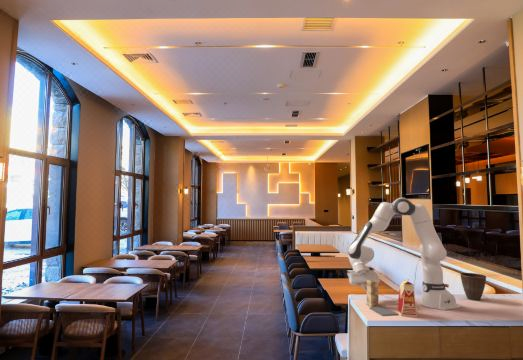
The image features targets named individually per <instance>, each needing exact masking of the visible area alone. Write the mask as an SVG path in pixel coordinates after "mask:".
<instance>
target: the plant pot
mask: <svg viewBox="0 0 523 360" xmlns="http://www.w3.org/2000/svg"><path fill="white" fill-rule="evenodd" d="M459 274H460V280H461V285H462V288H463V292H464V294H465V297H466V298H467V300H470V301H478V302H479V301H481V299H482V296H483V294H484V291H485V288H486V287H485V286H486V282H487V276H486V274H485V275H484V274H481V273H473V272H461V273H459Z"/></svg>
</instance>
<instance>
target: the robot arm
mask: <svg viewBox="0 0 523 360" xmlns="http://www.w3.org/2000/svg"><path fill="white" fill-rule="evenodd" d="M395 215H401V216H409V217H410V219H411V222H412V225H413V228H414V231H415V233H416V236H417V238H418V239H419V241H420V245H419V252H420V253H419V254H420V259H421V264H422V265H421V266H422V279H423V281H422V297H421V302H420V305H421V306H424V307H426V308H430V309H435V310H437V309H438V310H443V311H448V310H453V309H459V308H460V309H461V305H460V304H459V303H457V302H456V297H455V295H454V294H452V293H451V292H449V291H448V290H447V289H448V288H450V285H449V284H447V283H444V275H443V274H444V273H443V272H444V271H443V268H442V264H441V261H444V260H445V259H446V258H447V255H448V253H447V250H446V248H445V247H444V245H443V243H442V241H441V239H440V237H439V235H438V234H437V231H436V229H435V226H434V223H433V220H432V217H431V215H430V213H429V211H428V209H427V208H426V206H425V205H424V204H421V203H416V204H413V203H412V201H411V200H410V199H407V198H405V197H398V198H396V199H395V200H394V201H392V202H387V201H382V202H381V203H380V204H379V205H378V206H377V208H376V209H375V212H374V213H373V215H372V217H371V219H369V221H368V222H365V224H364V225H362V228H360V230H359V232H358V234H357V236H355V238H354V240H353V241H352V243H350V245H349V246H348V247H347V253H348V255H347V256H348V260H349V263H350V265H351V267H352V271H347V273H346V275H347V277H348V282H349V285H351V286H360V287H361V289H363V291H365V292H367V280H375V281H378V285H379V284H380V282H381V279H380V276H379V275H378V273H377V272H376V271H375V270H376V269H375V268H374V267H372V266H367V265H366V264H369V262H372V260H374V257H375V251H374V250H373V248H372V247H370V246H366V245H364V244H365V242H366V240H367V238H368V237H369V236H370V235H371V234H374V233H381V232H383V231H385V230H386V229H388V227H389V226H390V222H391V220H392V218H393V217H394V216H395Z"/></svg>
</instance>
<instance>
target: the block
mask: <svg viewBox="0 0 523 360" xmlns="http://www.w3.org/2000/svg"><path fill="white" fill-rule="evenodd" d="M366 287H367V291H366V305H367V306H369V307H380V305H379V284H378V281H375V280H367V285H366Z"/></svg>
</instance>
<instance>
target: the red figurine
mask: <svg viewBox="0 0 523 360" xmlns="http://www.w3.org/2000/svg"><path fill="white" fill-rule="evenodd" d="M396 313H398V314H399V315H400V316H401V317H411V316H412V317H413V318H419V312H418V309H417V302H416V297H415V287H414V284H413V283H412V282H410V281H409V279H408V278H407V279H402V282H401V283H400V284H399V290H398V298H397V312H396Z"/></svg>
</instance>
